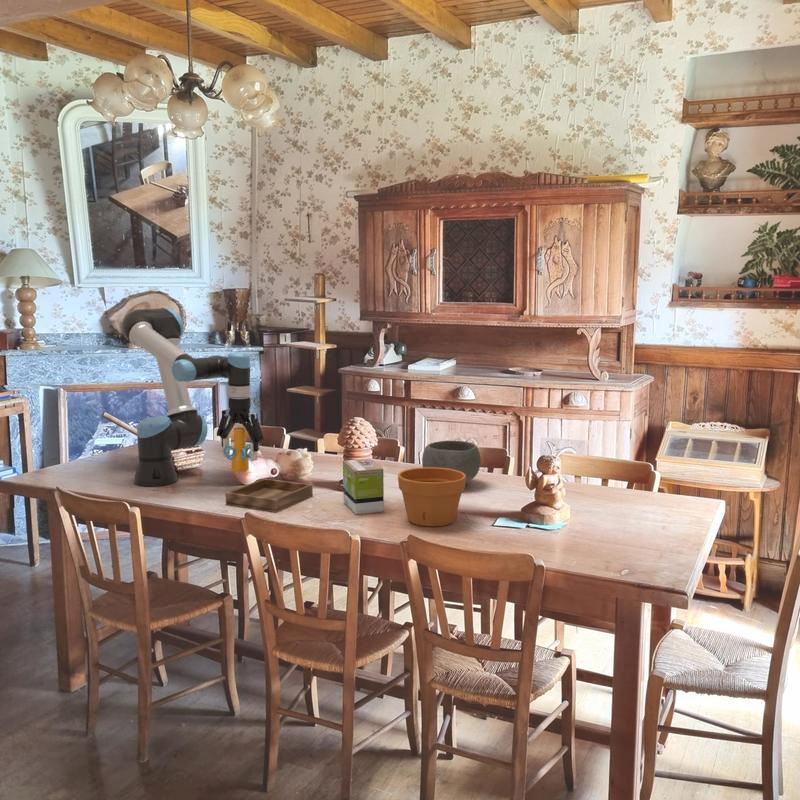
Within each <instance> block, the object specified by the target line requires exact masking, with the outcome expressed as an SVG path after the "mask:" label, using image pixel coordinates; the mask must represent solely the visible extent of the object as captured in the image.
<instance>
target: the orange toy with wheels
mask: <svg viewBox="0 0 800 800" xmlns="http://www.w3.org/2000/svg"><path fill="white" fill-rule="evenodd" d="M246 432H247V430H246V428H245V427H244V426H243V427H241V426H238V427H233V446H232V445H230V446H229V445H228V446H225V447H224V449H223V448H222V454H223V453H224V455H225V456H226V457H225V458H226V459H227V460H230V461H231V471H233V472H239V473H240V472H242V473H243V472H248V471H249V469H250V468H249V467H250V466H249V465H250V462H249V461H250V460H249V459H251V451H250V452H249V453H248V451H249V450H251V443H248V444H247V443H246V441H247V440H246V437H247V435H246ZM226 448H229V449H228V450H227V452H225V450H226ZM229 451H232V453H231V454H230V455H228V453H229Z"/></svg>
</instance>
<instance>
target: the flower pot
mask: <svg viewBox="0 0 800 800" xmlns="http://www.w3.org/2000/svg"><path fill="white" fill-rule="evenodd" d="M397 481H398V489H399V490H400V491H401V494H402V498H403V504H404V508H405V511H406V516H407V518H408V521H409V522H410V523H412V524H413V525H417V526H422V527H432V528H433V527H434V528H435V527H444V526H448V525H451V524H453V523H454V522H455V520H456V517H457V513H458V509H459V506H460V500H461V497H462V494H463V492H464V490H465V489H466V484H465V481H466V475H465V474H464V473H463V472H461V471H458V470H454V469H448V468H437V467H424V468H423V467H414V468H409V469H404V470H402V471H400V472H399V473H398V474H397Z"/></svg>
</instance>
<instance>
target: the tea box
mask: <svg viewBox="0 0 800 800" xmlns="http://www.w3.org/2000/svg"><path fill="white" fill-rule="evenodd" d="M384 477H385V476H384V468H383V467H382V466H380V465H379V464H378V463H377V462H375V461H374V460H373V459H371V458H362V459H351V460H343V461H342V483H343V484H342V485H343V486H342V487H343V494H342V495H343V497H342V498H343V503H344V504H346V506H347V507H348V508H349V509H350V510H351V511H352V512H353V513H354V514H355V515H363V514H372V513H373V514H374V513H375V514H376V513H382V512H384V509H385V508H384V507H385V505H384V504H385V503H384V501H385V500H384V498H385V497H384V495H385V494H384V493H385V492H384V487H385V485H384Z"/></svg>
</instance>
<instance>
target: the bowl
mask: <svg viewBox="0 0 800 800" xmlns="http://www.w3.org/2000/svg"><path fill="white" fill-rule="evenodd" d="M481 458H482V457H481V454H480V451H479V448H478V446H477V445H476V443H473V442H469V441H465V440H464V441H463V440H441V441H434V442H430V443H429V444H427V445H426V446H425V448H424V450H423V453H422V458H421V462H422V463H421V465H422V468H424V467H437V468H448V469H454V470H458V471H461V472H463V473H464V474H465V475H466V481H465V485H466V484H468V483H470V482H471V481H472V480H474V478H475V477H477V475H478V473H479V470H480V467H481V462H482V461H481Z"/></svg>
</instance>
